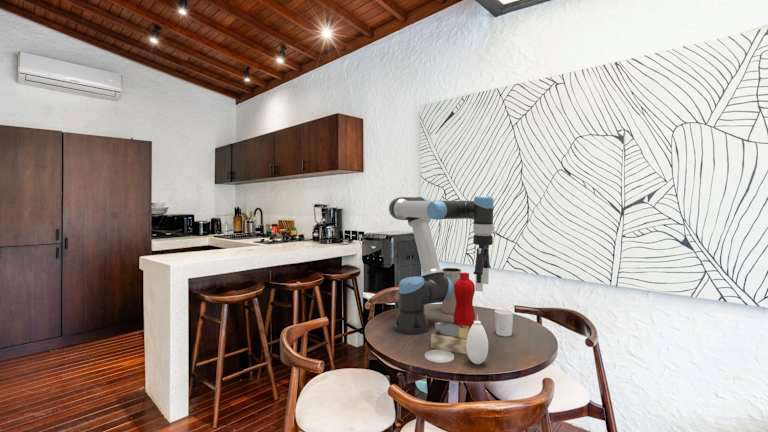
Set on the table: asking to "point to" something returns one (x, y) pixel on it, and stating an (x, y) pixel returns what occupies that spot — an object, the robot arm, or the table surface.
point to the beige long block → (448, 343)
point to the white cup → (503, 322)
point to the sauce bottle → (477, 343)
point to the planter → (451, 302)
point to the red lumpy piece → (464, 301)
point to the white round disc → (439, 356)
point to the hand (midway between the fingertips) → (482, 287)
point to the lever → (451, 329)
